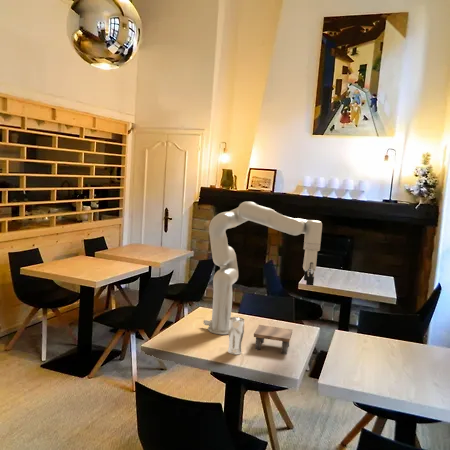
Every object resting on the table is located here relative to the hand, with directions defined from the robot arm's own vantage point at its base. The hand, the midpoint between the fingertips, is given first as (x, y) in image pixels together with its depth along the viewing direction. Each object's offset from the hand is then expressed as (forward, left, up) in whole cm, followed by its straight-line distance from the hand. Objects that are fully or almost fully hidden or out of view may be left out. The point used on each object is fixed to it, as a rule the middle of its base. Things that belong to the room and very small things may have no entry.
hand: (308, 282), depth 206 cm
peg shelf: (-13, -9, -30) cm, 34 cm away
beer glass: (-28, -22, -30) cm, 47 cm away
